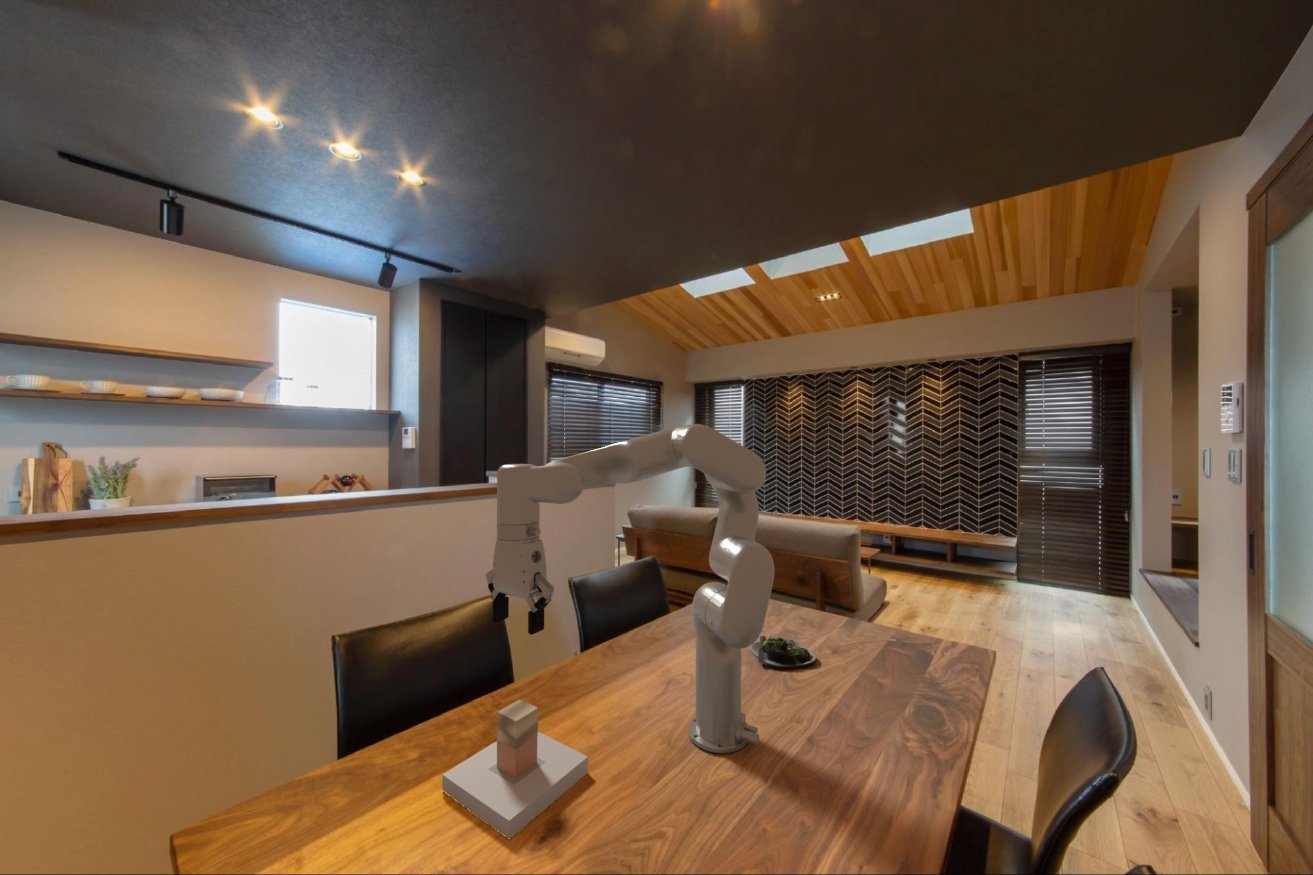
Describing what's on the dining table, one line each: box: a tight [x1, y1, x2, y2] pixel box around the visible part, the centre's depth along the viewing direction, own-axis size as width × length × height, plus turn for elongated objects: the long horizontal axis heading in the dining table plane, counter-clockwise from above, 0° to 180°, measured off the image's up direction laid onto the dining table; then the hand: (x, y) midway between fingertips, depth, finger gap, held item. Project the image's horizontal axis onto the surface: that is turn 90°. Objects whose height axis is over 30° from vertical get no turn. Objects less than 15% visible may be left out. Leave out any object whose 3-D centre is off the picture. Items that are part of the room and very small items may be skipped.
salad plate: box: [750, 635, 817, 671], centre depth 138 cm, size 19×18×5 cm
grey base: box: [441, 731, 589, 839], centre depth 86 cm, size 18×18×3 cm
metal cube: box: [496, 699, 539, 750], centre depth 86 cm, size 5×5×5 cm
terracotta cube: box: [496, 736, 537, 779], centre depth 86 cm, size 5×5×5 cm
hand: (517, 625), depth 86 cm, fingers open, 9 cm apart
